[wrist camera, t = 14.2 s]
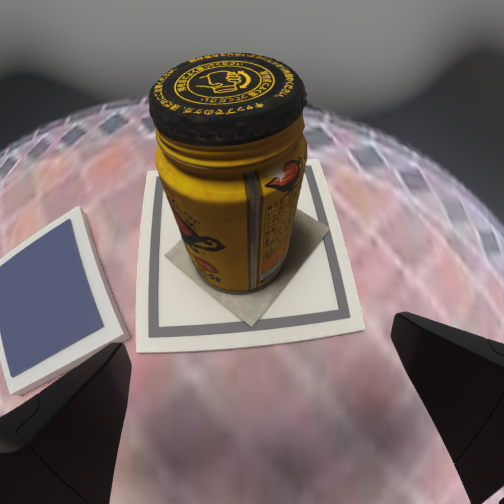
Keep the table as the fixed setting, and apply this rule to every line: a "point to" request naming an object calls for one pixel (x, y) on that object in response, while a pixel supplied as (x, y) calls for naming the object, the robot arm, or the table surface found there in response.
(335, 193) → the table surface
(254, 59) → the condiment
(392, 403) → the table surface
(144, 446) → the table surface
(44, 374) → the ink pad
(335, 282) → the marked board
